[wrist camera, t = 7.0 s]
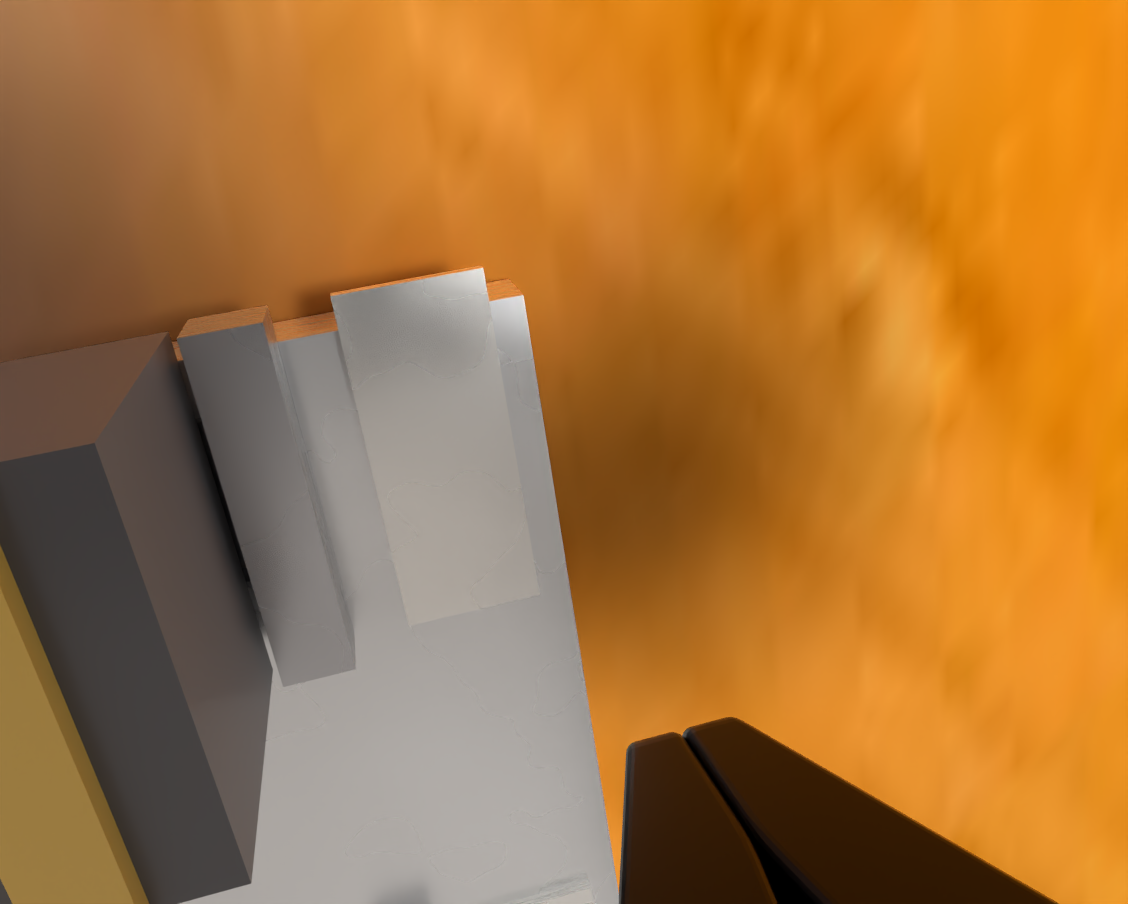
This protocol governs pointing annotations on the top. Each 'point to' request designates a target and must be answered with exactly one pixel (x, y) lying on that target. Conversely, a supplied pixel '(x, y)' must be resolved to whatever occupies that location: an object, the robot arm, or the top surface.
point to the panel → (404, 600)
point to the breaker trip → (121, 640)
